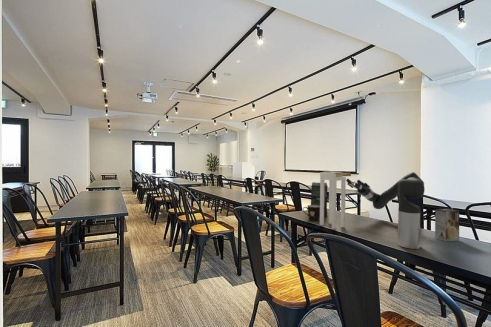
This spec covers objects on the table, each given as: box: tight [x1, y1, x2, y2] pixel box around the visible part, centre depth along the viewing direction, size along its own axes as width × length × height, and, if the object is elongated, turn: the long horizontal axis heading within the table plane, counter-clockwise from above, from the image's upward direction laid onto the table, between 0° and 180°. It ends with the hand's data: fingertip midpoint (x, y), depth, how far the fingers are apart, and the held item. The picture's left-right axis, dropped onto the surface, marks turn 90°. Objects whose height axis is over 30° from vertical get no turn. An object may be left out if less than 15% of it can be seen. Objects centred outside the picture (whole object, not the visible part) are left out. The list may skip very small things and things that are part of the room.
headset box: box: [310, 181, 329, 218], centre depth 199 cm, size 22×12×26 cm, turn 164°
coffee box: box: [434, 208, 460, 242], centre depth 138 cm, size 9×6×16 cm
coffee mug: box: [302, 204, 320, 222], centre depth 180 cm, size 12×9×10 cm
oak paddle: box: [323, 170, 352, 177], centre depth 166 cm, size 9×19×3 cm, turn 118°
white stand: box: [319, 171, 347, 230], centre depth 163 cm, size 12×10×34 cm
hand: (352, 180), depth 172 cm, fingers open, 8 cm apart
